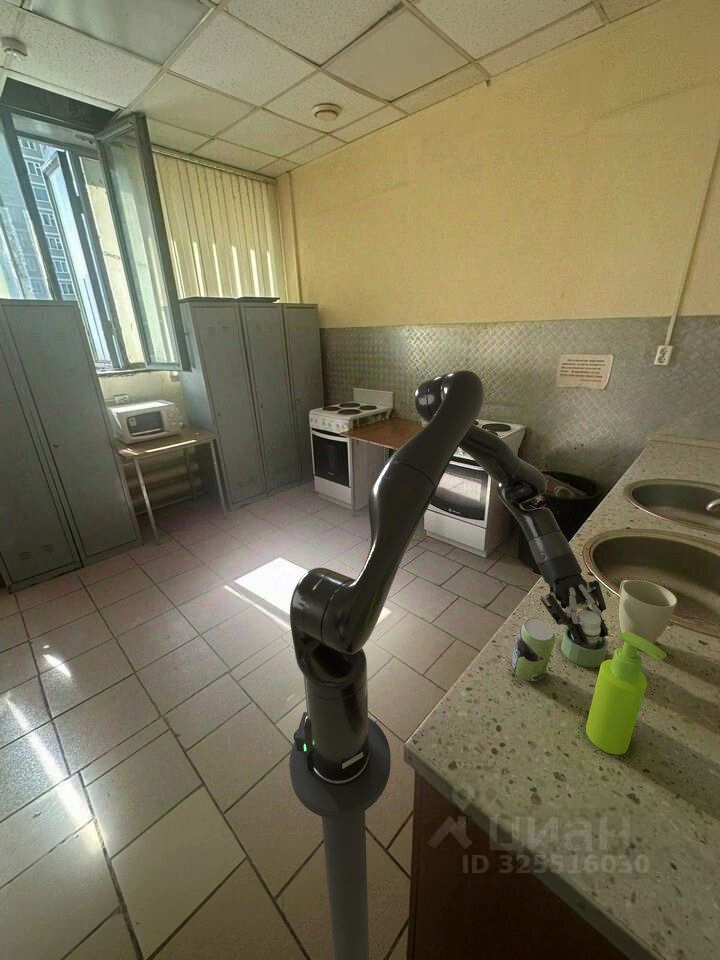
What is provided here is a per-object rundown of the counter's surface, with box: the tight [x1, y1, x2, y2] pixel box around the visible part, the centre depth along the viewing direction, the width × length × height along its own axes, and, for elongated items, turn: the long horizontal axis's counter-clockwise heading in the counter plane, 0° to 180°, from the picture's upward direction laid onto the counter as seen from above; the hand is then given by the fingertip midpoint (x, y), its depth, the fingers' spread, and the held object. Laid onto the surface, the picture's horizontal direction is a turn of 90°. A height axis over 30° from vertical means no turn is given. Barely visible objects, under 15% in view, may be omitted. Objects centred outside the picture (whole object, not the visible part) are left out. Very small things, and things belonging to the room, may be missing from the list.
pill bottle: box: [570, 609, 601, 650], centre depth 78 cm, size 5×5×8 cm
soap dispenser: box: [585, 630, 668, 756], centre depth 59 cm, size 6×7×20 cm
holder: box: [560, 625, 608, 668], centre depth 79 cm, size 8×8×4 cm
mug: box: [618, 579, 678, 644], centre depth 82 cm, size 11×10×12 cm
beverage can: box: [510, 617, 556, 682], centre depth 73 cm, size 6×7×12 cm
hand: (593, 639), depth 77 cm, fingers closed on pill bottle, 4 cm apart
